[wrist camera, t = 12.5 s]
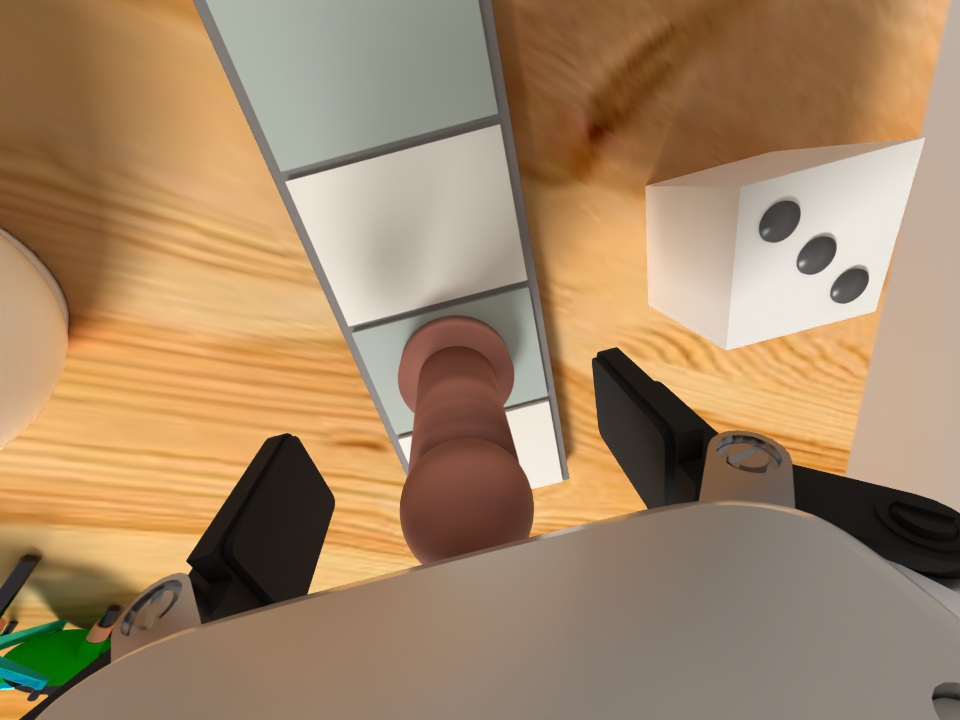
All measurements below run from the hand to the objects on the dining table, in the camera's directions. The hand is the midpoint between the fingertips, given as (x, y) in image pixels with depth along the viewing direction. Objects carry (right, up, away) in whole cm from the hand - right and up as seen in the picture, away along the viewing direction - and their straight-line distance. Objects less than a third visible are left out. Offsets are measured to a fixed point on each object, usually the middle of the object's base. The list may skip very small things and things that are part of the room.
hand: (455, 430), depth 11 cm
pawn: (0, +2, +4) cm, 5 cm away
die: (+10, +8, +4) cm, 13 cm away
